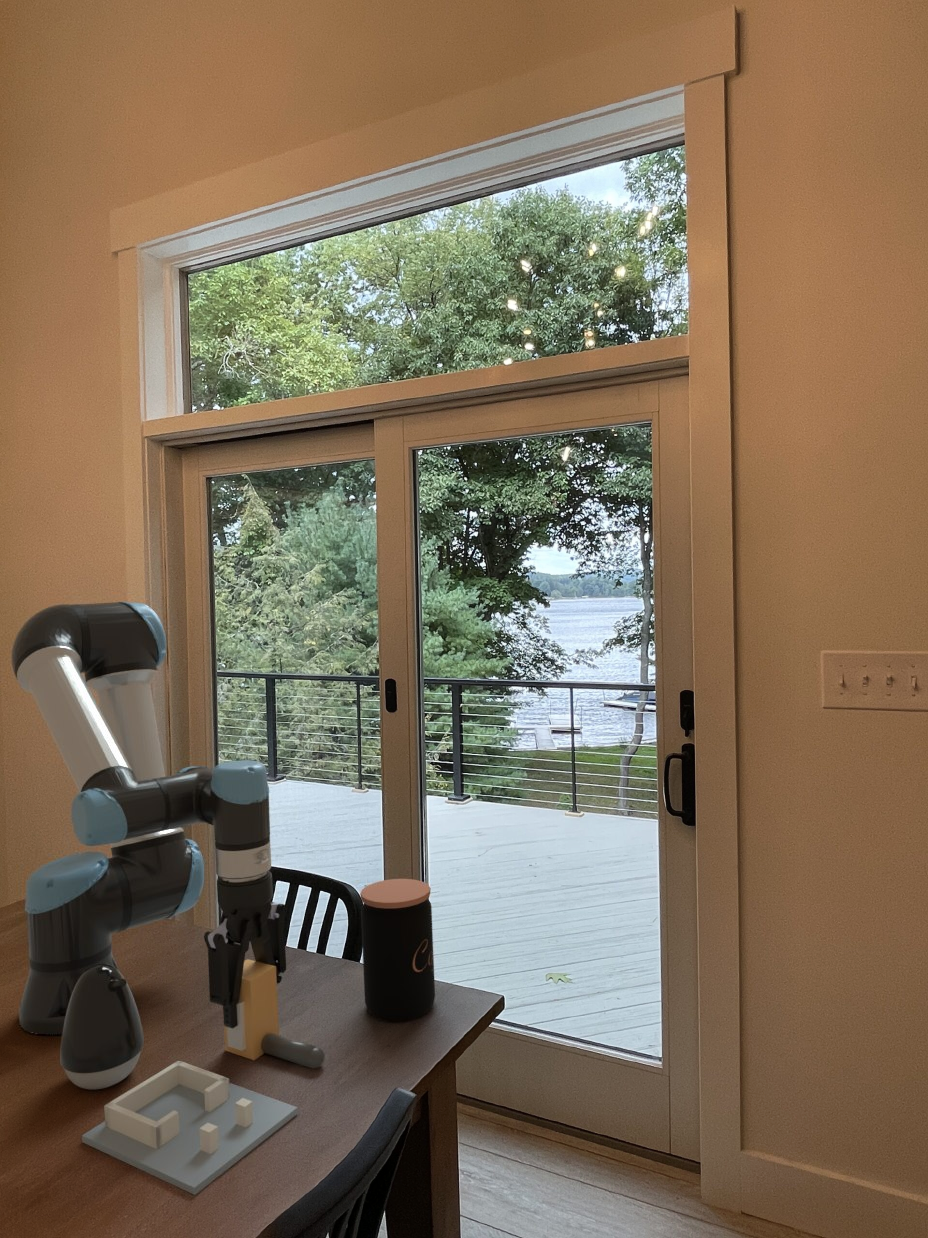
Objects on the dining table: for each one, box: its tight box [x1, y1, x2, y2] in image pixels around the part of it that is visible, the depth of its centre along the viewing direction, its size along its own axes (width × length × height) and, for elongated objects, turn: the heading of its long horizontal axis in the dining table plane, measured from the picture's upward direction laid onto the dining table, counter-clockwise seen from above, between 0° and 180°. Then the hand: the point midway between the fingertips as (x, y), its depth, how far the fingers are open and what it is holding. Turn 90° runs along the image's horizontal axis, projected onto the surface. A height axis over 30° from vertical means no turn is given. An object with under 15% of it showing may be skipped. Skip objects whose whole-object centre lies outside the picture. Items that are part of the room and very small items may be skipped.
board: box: [81, 1060, 299, 1196], centre depth 103 cm, size 19×16×3 cm
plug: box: [223, 958, 326, 1069], centre depth 118 cm, size 16×5×11 cm, turn 59°
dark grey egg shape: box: [59, 964, 145, 1090], centre depth 114 cm, size 10×10×15 cm
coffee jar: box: [359, 878, 436, 1023], centre depth 131 cm, size 11×11×18 cm
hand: (252, 1037), depth 121 cm, fingers closed on plug, 5 cm apart
